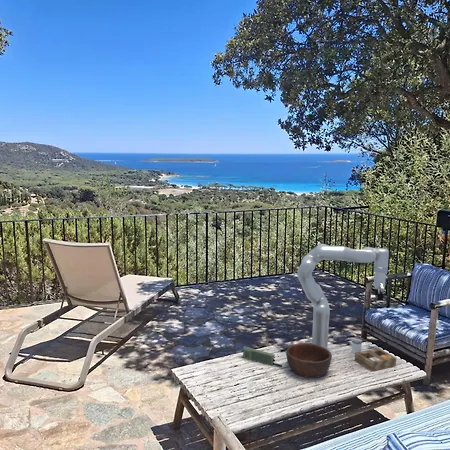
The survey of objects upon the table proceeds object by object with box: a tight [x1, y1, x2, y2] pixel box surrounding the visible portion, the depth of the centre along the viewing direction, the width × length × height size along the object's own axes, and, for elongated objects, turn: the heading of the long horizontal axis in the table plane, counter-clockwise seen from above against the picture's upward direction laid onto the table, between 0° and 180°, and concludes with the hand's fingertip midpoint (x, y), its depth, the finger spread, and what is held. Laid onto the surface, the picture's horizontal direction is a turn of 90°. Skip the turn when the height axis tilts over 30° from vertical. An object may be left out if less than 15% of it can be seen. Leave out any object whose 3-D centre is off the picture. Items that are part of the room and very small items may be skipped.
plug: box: [350, 338, 363, 355], centre depth 251 cm, size 4×4×8 cm
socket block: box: [354, 347, 397, 372], centre depth 238 cm, size 18×14×5 cm
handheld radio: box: [242, 345, 283, 368], centre depth 237 cm, size 7×3×25 cm
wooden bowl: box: [285, 342, 333, 379], centre depth 229 cm, size 25×25×10 cm
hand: (378, 297), depth 241 cm, fingers open, 9 cm apart
